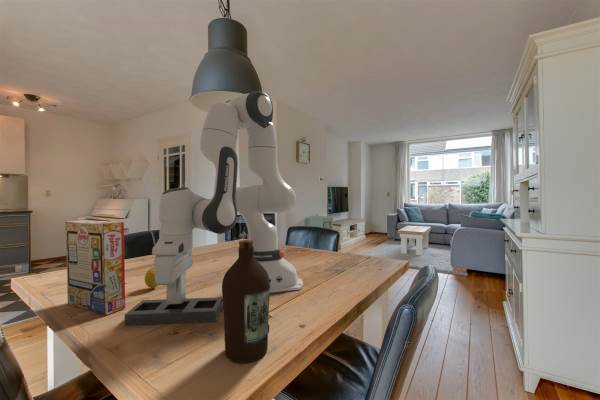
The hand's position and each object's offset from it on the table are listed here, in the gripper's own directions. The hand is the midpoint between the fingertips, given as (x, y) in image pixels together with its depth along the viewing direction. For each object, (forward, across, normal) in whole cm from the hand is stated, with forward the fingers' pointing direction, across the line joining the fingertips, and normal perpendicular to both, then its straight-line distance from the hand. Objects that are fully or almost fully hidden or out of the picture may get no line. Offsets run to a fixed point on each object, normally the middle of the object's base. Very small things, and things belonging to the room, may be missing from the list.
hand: (176, 290), depth 78 cm
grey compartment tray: (+7, 0, 0) cm, 7 cm away
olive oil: (+8, +20, +22) cm, 31 cm away
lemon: (+7, -24, -17) cm, 30 cm away
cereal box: (+8, -9, -28) cm, 30 cm away
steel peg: (+3, 0, 0) cm, 3 cm away
